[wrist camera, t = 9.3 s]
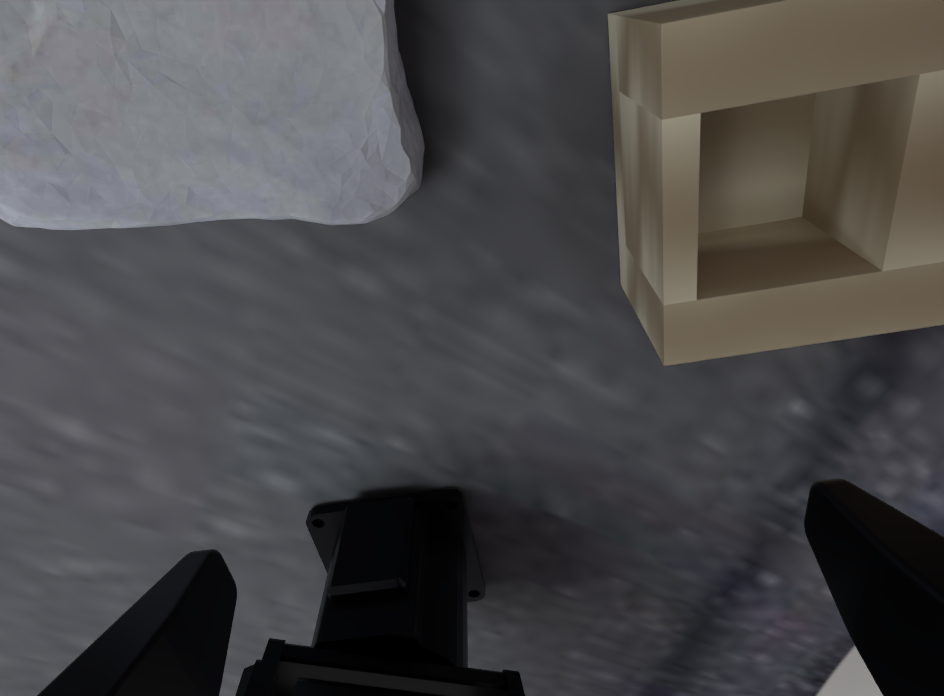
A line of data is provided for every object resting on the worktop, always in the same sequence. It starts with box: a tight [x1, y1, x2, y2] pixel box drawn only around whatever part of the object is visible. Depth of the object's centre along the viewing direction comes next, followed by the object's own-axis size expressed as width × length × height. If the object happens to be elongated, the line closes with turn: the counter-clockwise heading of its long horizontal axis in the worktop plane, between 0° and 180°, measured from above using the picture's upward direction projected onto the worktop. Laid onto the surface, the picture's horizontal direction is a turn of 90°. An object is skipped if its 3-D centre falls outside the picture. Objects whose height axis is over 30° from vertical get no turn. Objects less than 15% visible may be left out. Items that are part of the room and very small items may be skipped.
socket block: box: [608, 0, 944, 366], centre depth 16 cm, size 8×12×5 cm, turn 100°
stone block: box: [0, 0, 425, 230], centre depth 15 cm, size 12×5×10 cm
